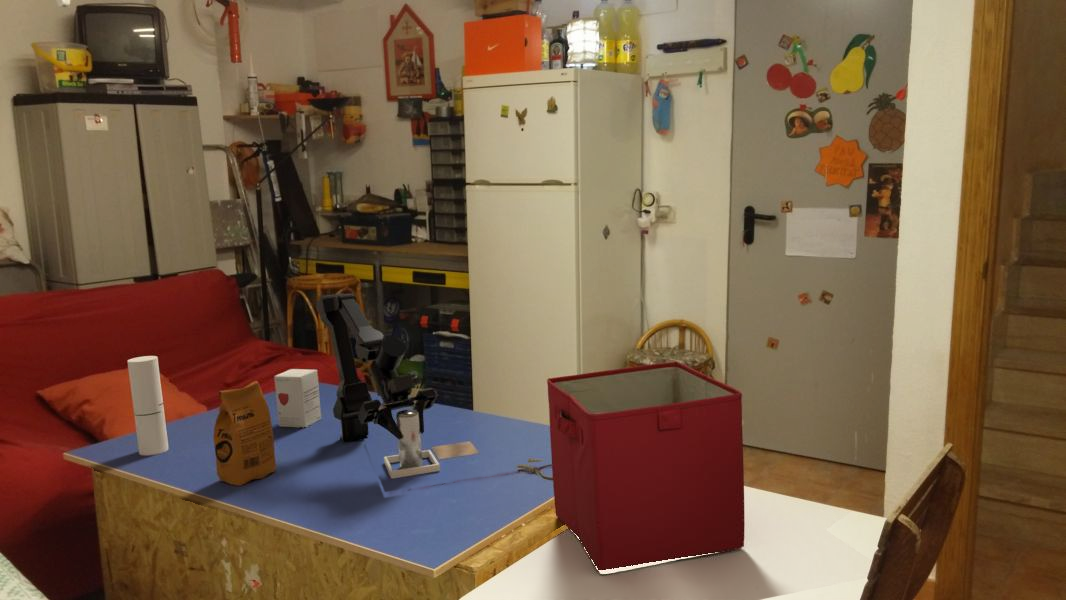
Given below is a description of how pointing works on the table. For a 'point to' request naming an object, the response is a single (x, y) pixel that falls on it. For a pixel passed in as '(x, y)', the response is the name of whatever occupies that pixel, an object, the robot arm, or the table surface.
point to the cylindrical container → (148, 405)
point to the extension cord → (533, 468)
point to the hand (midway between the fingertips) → (411, 435)
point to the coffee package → (243, 436)
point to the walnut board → (454, 450)
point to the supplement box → (297, 398)
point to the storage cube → (647, 463)
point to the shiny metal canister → (409, 439)
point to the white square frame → (411, 471)
